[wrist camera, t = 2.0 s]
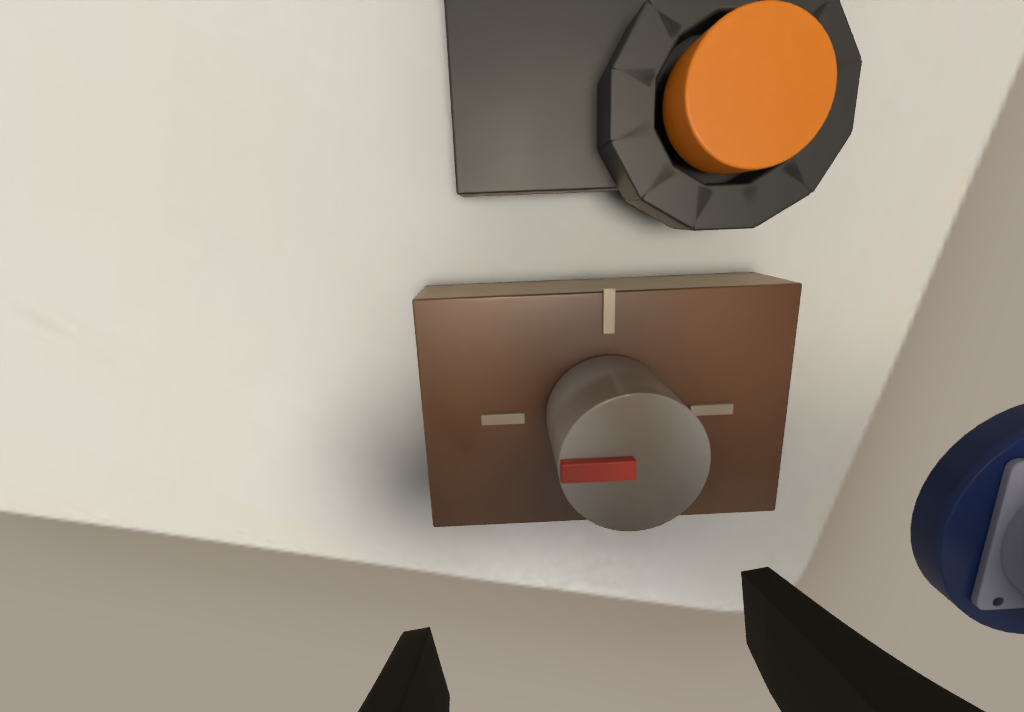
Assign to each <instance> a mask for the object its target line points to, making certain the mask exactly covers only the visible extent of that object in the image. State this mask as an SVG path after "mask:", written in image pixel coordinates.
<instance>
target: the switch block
mask: <svg viewBox="0 0 1024 712" xmlns="http://www.w3.org/2000/svg"><path fill="white" fill-rule="evenodd" d="M756 1H764V0H444V5H445V20H446V36H447V51H448V67H449V82H450V98H451V113H452V129H453V144H454V160H455V175H456V191H457V194H458V195H461V196H463V197H471V196H497V195H523V194H548V193H574V192H600V191H620V193H621V195H622V196H623V198H624V200H626V201H627V203H629V204H631V205H633V206H634V207H636V208H638V209H639V210H641V211H643V212H645V213H646V214H648V215H650V216H652V217H653V218H655V219H657V220H659V221H660V222H662V223H664V224H666V225H667V226H669V227H671V228H674V229H684V230H719V229H745V228H754V227H756V226H758V225H760V224H762V223H763V222H765V221H767V220H768V219H770V218H772V217H773V216H775V215H777V214H778V213H780V212H781V211H783V210H785V209H786V208H788V207H790V206H791V205H793V204H795V203H796V202H798V201H800V200H801V199H803V198H805V197H806V196H808V195H809V194H810V193H811V192H813V191H814V190H815V189H816V187H817V185H818V184H819V182H820V181H821V179H822V178H823V176H824V175H825V173H826V172H827V170H828V169H829V167H830V166H831V164H832V162H833V161H834V159H835V158H836V156H837V155H838V153H839V152H840V150H841V149H842V147H843V146H844V144H845V142H846V141H847V139H848V138H849V136H850V135H851V132H852V129H853V122H854V115H855V107H856V100H857V93H858V85H859V78H860V71H861V63H862V60H860V59H861V56H860V53H859V51H858V48H857V45H856V43H855V40H854V37H853V35H852V32H851V29H850V27H849V24H848V21H847V19H846V16H845V14H844V11H843V8H842V6H841V3H840V0H778V1H783V2H788V3H791V4H794V5H797V6H799V7H801V8H802V9H804V10H806V11H807V12H809V13H810V14H811V15H812V16H814V17H815V18H816V19H817V20H818V22H819V23H820V24H821V25H822V26H823V28H824V29H825V31H826V32H827V34H828V36H829V38H830V41H831V43H832V46H833V49H834V52H835V57H836V63H837V85H836V91H835V96H834V100H833V103H832V106H831V109H830V111H829V113H828V116H827V118H826V120H825V122H824V123H823V125H822V127H821V128H820V130H819V131H818V132H817V134H816V135H815V137H814V138H813V139H812V140H811V141H810V142H809V143H808V144H807V145H806V146H805V147H804V148H803V149H802V150H801V151H800V152H799V153H797V154H796V155H794V156H793V157H791V158H790V159H788V160H786V161H784V162H782V163H780V164H778V165H775V166H773V167H769V168H765V169H760V170H754V171H747V172H741V173H735V174H727V175H716V174H711V173H706V172H703V171H700V170H698V169H696V168H694V167H692V166H691V165H690V164H688V163H687V162H685V161H684V160H683V159H682V158H681V157H680V156H679V154H678V153H677V152H676V151H675V149H674V148H673V146H672V144H671V143H670V141H669V138H668V136H667V134H666V130H665V126H664V121H663V108H662V105H663V95H664V91H665V86H666V83H667V80H668V77H669V75H670V73H671V71H672V68H673V66H674V65H675V63H676V62H677V60H678V58H679V57H680V56H681V55H682V53H683V52H684V51H685V50H686V49H687V48H688V47H689V46H690V45H691V44H692V43H693V42H694V41H695V40H697V39H698V38H699V37H700V36H701V35H702V34H703V33H705V32H706V31H707V30H708V29H709V28H710V27H711V26H713V25H714V24H715V23H716V22H717V21H718V20H720V19H721V18H722V17H724V16H725V15H726V14H728V13H729V12H731V11H733V10H734V9H736V8H738V7H741V6H743V5H746V4H748V3H752V2H756Z"/></svg>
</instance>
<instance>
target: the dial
mask: <svg viewBox="0 0 1024 712" xmlns="http://www.w3.org/2000/svg"><path fill="white" fill-rule="evenodd" d="M546 422H547V428H548V432H549V437H550V441H551V445H552V450H553V454H554V458H555V463H556V467H557V471H558V476H559V480H560V484H561V487H562V490H563V492H564V494H565V496H566V498H567V500H568V501H569V503H570V504H571V505H572V506H573V508H574V509H575V510H576V511H577V512H578V513H580V514H581V515H582V516H583V517H585V518H586V519H588V520H589V521H591V522H593V523H595V524H597V525H599V526H602V527H605V528H609V529H613V530H619V531H638V530H645V529H649V528H653V527H656V526H659V525H662V524H664V523H666V522H668V521H670V520H672V519H673V518H675V517H677V516H678V515H679V514H681V513H682V512H683V511H685V510H686V509H687V508H688V507H689V506H690V505H691V504H692V503H693V501H694V500H695V499H696V498H697V496H698V495H699V493H700V492H701V490H702V489H703V487H704V484H705V482H706V480H707V477H708V473H709V470H710V463H711V450H710V443H709V439H708V436H707V433H706V431H705V429H704V427H703V425H702V423H701V422H700V420H699V419H698V418H697V417H696V415H695V414H694V413H693V412H692V411H691V410H690V409H689V408H688V407H687V406H686V405H685V404H684V403H683V402H682V401H681V400H680V399H679V398H678V397H677V396H676V395H675V394H674V393H673V392H672V391H671V390H670V388H669V387H668V386H667V385H666V384H665V383H664V382H663V381H662V380H661V379H660V378H659V377H658V376H657V375H656V374H655V373H654V372H653V371H652V370H651V369H649V368H648V367H647V366H646V365H644V364H642V363H641V362H639V361H637V360H634V359H632V358H628V357H625V356H618V355H605V356H598V357H594V358H590V359H588V360H585V361H583V362H581V363H579V364H577V365H575V366H574V367H572V368H571V369H570V370H568V371H567V372H566V373H565V374H564V375H563V376H562V377H561V378H560V380H559V381H558V382H557V384H556V385H555V387H554V388H553V390H552V392H551V394H550V397H549V400H548V404H547V409H546Z"/></svg>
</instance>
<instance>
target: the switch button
mask: <svg viewBox="0 0 1024 712" xmlns="http://www.w3.org/2000/svg"><path fill="white" fill-rule="evenodd" d="M836 85H837V63H836V57H835V52H834V49H833V46H832V43H831V41H830V38H829V36H828V34H827V32H826V31H825V29H824V28H823V26H822V25H821V24H820V23H819V22H818V20H817V19H816V18H815V17H814V16H812V15H811V14H810V13H809V12H807V11H806V10H804V9H802V8H801V7H799V6H797V5H794V4H791V3H788V2H783V1H778V0H764V1H756V2H752V3H748V4H746V5H743V6H741V7H738V8H736V9H734V10H733V11H731V12H729V13H728V14H726V15H725V16H724V17H722V18H721V19H720V20H718V21H717V22H716V23H715V24H714V25H713V26H711V27H710V28H709V29H708V30H707V31H706V32H705V33H703V34H702V35H701V36H700V37H699V38H698V39H697V40H695V41H694V42H693V43H692V44H691V45H690V46H689V47H688V48H687V49H686V50H685V51H684V52H683V53H682V55H681V56H680V57H679V58H678V60H677V62H676V63H675V65H674V66H673V68H672V71H671V73H670V75H669V77H668V80H667V83H666V86H665V91H664V95H663V105H662V108H663V121H664V126H665V130H666V134H667V136H668V138H669V141H670V143H671V144H672V146H673V148H674V149H675V151H676V152H677V153H678V154H679V156H680V157H681V158H682V159H683V160H684V161H685V162H687V163H688V164H690V165H691V166H692V167H694V168H696V169H698V170H700V171H703V172H706V173H711V174H716V175H727V174H735V173H741V172H747V171H754V170H760V169H765V168H769V167H773V166H775V165H778V164H780V163H782V162H784V161H786V160H788V159H790V158H791V157H793V156H794V155H796V154H797V153H799V152H800V151H801V150H802V149H803V148H804V147H805V146H806V145H807V144H808V143H809V142H810V141H811V140H812V139H813V138H814V137H815V135H816V134H817V132H818V131H819V130H820V128H821V127H822V125H823V123H824V122H825V120H826V118H827V116H828V113H829V111H830V109H831V106H832V103H833V100H834V96H835V91H836Z"/></svg>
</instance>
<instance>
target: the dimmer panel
mask: <svg viewBox="0 0 1024 712" xmlns="http://www.w3.org/2000/svg"><path fill="white" fill-rule="evenodd" d="M801 288H802V284H801V283H798V282H793V281H789V280H785V279H781V278H776V277H772V276H768V275H764V274H759V273H755V272H750V273H726V274H702V275H677V276H653V277H629V278H605V279H580V280H556V281H532V282H508V283H483V284H459V285H435V286H426V287H425V288H424V289H423V290H422V291H421V292H420V293H419V294H418V295H417V296H416V297H415V298H414V299H413V301H412V303H413V314H414V325H415V335H416V346H417V357H418V368H419V379H420V389H421V400H422V411H423V422H424V433H425V443H426V454H427V465H428V476H429V486H430V497H431V508H432V519H433V526H434V527H445V526H465V525H486V524H507V523H527V522H548V521H568V520H588V519H586V518H585V517H583V516H582V515H581V514H580V513H578V512H577V511H576V510H575V509H574V508H573V506H572V505H571V504H570V503H569V501H568V500H567V498H566V496H565V494H564V492H563V490H562V487H561V484H560V480H559V476H558V471H557V467H556V463H555V458H554V454H553V450H552V445H551V441H550V437H549V432H548V428H547V422H546V409H547V404H548V400H549V397H550V394H551V392H552V390H553V388H554V387H555V385H556V384H557V382H558V381H559V380H560V378H561V377H562V376H563V375H564V374H565V373H566V372H567V371H568V370H570V369H571V368H572V367H574V366H575V365H577V364H579V363H581V362H583V361H585V360H588V359H590V358H594V357H598V356H605V355H618V356H625V357H628V358H632V359H634V360H637V361H639V362H641V363H642V364H644V365H646V366H647V367H648V368H649V369H651V370H652V371H653V372H654V373H655V374H656V375H657V376H658V377H659V378H660V379H661V380H662V381H663V382H664V383H665V384H666V385H667V386H668V387H669V388H670V390H671V391H672V392H673V393H674V394H675V395H676V396H677V397H678V398H679V399H680V400H681V401H682V402H683V403H684V404H685V405H686V406H687V407H688V408H689V409H690V410H691V411H692V412H693V413H694V414H695V415H696V417H697V418H698V419H699V420H700V422H701V423H702V425H703V427H704V429H705V431H706V433H707V436H708V439H709V443H710V450H711V463H710V470H709V473H708V477H707V480H706V482H705V484H704V487H703V489H702V490H701V492H700V493H699V495H698V496H697V498H696V499H695V500H694V501H693V503H692V504H691V505H690V506H689V507H688V508H687V509H686V510H685V511H683V512H682V513H681V514H679V515H692V514H713V513H733V512H754V511H773V510H775V504H776V496H777V487H778V479H779V471H780V462H781V454H782V446H783V437H784V429H785V421H786V413H787V404H788V396H789V388H790V379H791V371H792V363H793V354H794V346H795V338H796V329H797V321H798V313H799V304H800V296H801Z"/></svg>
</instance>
